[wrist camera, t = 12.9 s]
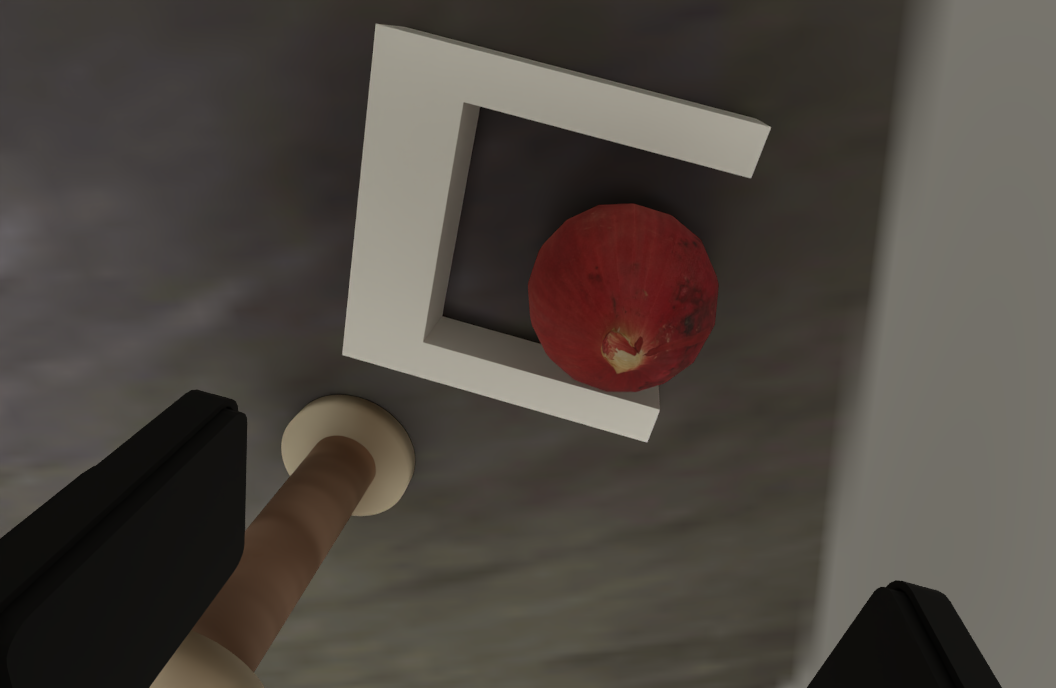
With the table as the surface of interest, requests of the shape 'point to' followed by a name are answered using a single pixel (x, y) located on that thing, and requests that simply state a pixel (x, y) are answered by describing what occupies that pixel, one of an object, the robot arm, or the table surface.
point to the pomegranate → (622, 297)
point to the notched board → (437, 197)
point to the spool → (295, 535)
